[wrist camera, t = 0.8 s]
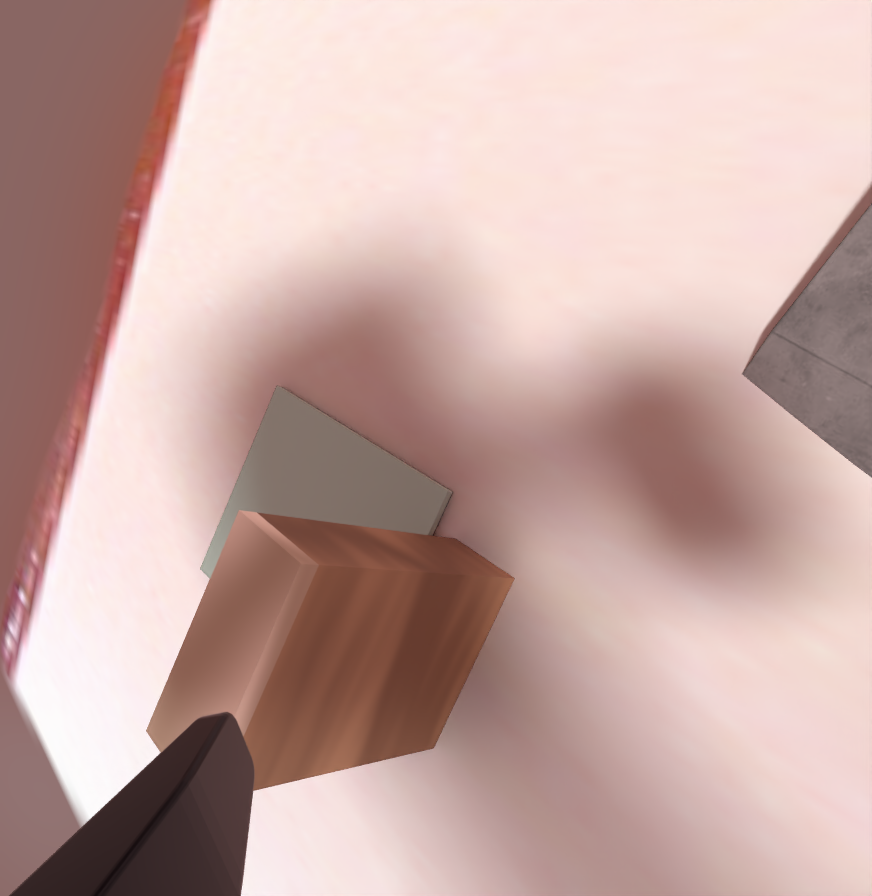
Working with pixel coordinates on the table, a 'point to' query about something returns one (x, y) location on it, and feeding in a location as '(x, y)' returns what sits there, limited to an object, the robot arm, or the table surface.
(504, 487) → the table surface
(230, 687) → the slab
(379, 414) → the table surface
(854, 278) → the cleaver
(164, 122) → the table surface
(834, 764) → the table surface
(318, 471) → the mat
